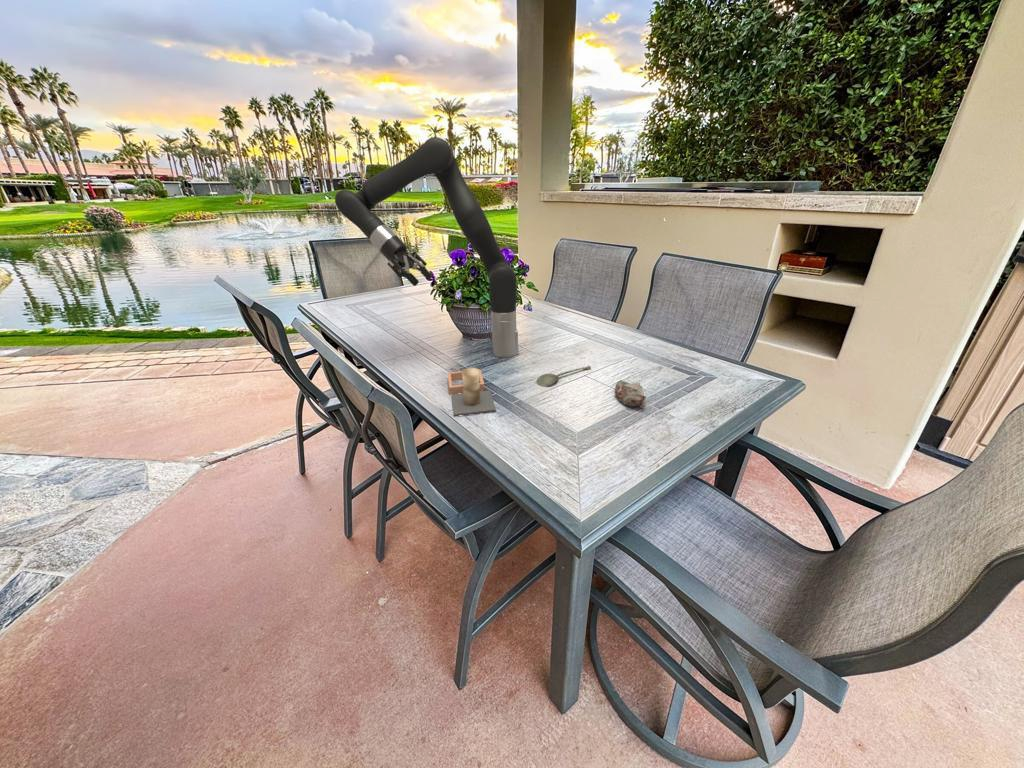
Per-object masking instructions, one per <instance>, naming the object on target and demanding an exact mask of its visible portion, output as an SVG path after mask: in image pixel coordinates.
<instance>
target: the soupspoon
mask: <svg viewBox="0 0 1024 768" xmlns="http://www.w3.org/2000/svg"><path fill="white" fill-rule="evenodd" d="M581 370H582V371H583V370H589V371H590V370H592V367H591V365H587V366H584V367H579V368H576V369H571V370H567V371H564V372H561V373H558V374H554V373H545V374H541V375H540V376H539V377H538V378H537V379H536V380H535V383H536V384H537V385H538V386H540V387H543V388H548V387H550V386H551V385H553V384H554V383H556V382H557V381H558V379H559V378H560V377H561V376H563V375H566V374H569V373H572V372H576V371H581Z"/></svg>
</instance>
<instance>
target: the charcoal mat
mask: <svg viewBox="0 0 1024 768" xmlns="http://www.w3.org/2000/svg"><path fill="white" fill-rule="evenodd" d="M451 400H452V401H451V402H452V411H453V417H454V416H458V417H460V416H459V415H466V416H470V415H469V414H474V415H481V414H480V413H483V414H488V413H489V414H490V412H491V413H497V412H496V411H497V409H496V405H495V403H494V398H493V396H492V393H491V390H485V391H480V403H479V404H477V405H473V406H470V405H466V404H465V403H464V393H461V394H452V395H451Z"/></svg>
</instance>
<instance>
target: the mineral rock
mask: <svg viewBox="0 0 1024 768" xmlns="http://www.w3.org/2000/svg"><path fill="white" fill-rule="evenodd" d="M614 387H615V388H614V394H615V397H616V398H617V400H619V402H620V403H621V404H623V405H627V406H629V407H631V408H632V407H637V406H638V407H639V408H640V409H643V408H645V406H644V405H645V399H646V396H645V393H644V390H643V386H642V385H641V382H632V383H630V382H626V381H623V380H621V379H620V380H619V381H617V382H616V384H615V386H614Z"/></svg>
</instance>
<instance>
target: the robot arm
mask: <svg viewBox="0 0 1024 768" xmlns="http://www.w3.org/2000/svg"><path fill="white" fill-rule="evenodd" d="M432 174H434V176H435V177H436V179H437V181H438V182H439V184H440V186H441V187H442V189H443V191H444V193H445V195H446V197H447V200H448V203H449V206H450V209H451V211H452V214H453V216H454V218H455V220H456V223H457V224H458V227H459V228H460V230H461V232H462V234H463V235H464V237H465V238H466V240H467V241H468V243H469V245H470V246H472V248H473V249H474V250H475V252H476V253H477V255H478V256H479V257H480V259H481V261H482V263H483V265H484V268H485V270H486V273H487V275H488V279H489V295H490V299H489V301H490V315H491V319H490V320H491V337H492V339H491V341H492V352H493V353H492V354H493V355H494V356H495V357H497V358H501V359H503V358H512V357H515V356H519V331H518V329H517V276H516V273H515V271H514V269H513V267H512V266H511V265H510V263H509V262H508V260H507V259H506V257H505V256H504V254H503V253H502V251H501V249H500V247H499V245H498V243H497V240H496V237H495V234H494V232H493V229H492V226H491V224H490V223H489V220H488V218H487V217H486V214H485V212H484V210H483V208H482V207H481V205H480V202H479V201H478V200H477V198H476V195H474V193H473V192H472V190H471V188H470V187H469V185H468V184H467V182H466V181H465V178H464V177H463V174H462V172H461V170H460V168H459V165H458V162H457V160H456V157H455V155H454V151H453V149H452V147H451V146H450V144H449V143H448V142H447V140H445V139H443V138H441V137H437V136H433V137H429V138H428V139H426V140H425V141H424V143H422V144H421V145H420V146H419V147H418V148H417V149H416V150H415V151H413V152H412V153H411V154H409V155H408V156H407V157H405V158H404V159H402V160H401V161H399V162H397V163H395V164H393V165H391V166H390V167H388V168H386V169H384V170H382V171H380V172H379V173H376V174H375V175H373V176H371V177H369V178H368V179H366V180H365V181H363V183H362V185H361V189H360V190H359V191H357V192H353V191H351V190H349V189H342V190H339V191H337V193H336V194H335V196H334V202H335V206H336V208H337V209H338V210H339V212H340V213H341V214H342V215H343V216H344V217H345V218H346V219H347V220H349V221H350V222H351V223H352V224H354V225H355V226H356V227H357V228H358V229H359V230H360V231H361V232H362V233H363V235H365V237H367V239H368V240H369V241H370V242H371V243H372V245H373V246H374V247H375V248H376V249H377V250H378V251H379V252H380V253H381V254H382V256H384V257H385V259H387V261H388V263H387V266H388V267H389V268H390V269H391V270H392V271H393V272H394V273H395V274H396V276H397V277H398V278H402V277H403V278H404V279H407V281H409V283H410V284H411V285H412V286H414V287H415V286H417V285H418V284H419V279H418V278H417V277H416V276H415V275H414V274H413V273H412V272H411V271H410V269H411V270H414V271H417V272H418V271H419V273H420V274H421V275H422V276H423V277H424V278H425V279H426V280H427V281H430V280H431V279H432V278H433V275H432V273H431V272H430V271H429V270H428V269H427V268H426V266H427V265H428V264H427V262H426V261H425V260H424V259H423V258H422V257H421V256H420V255H419V254H418V253H417V252H416V251H412V252H411V253H410V252H408V250H407V245H406V244H405V243H404V242H403V240H401V238H400V237H399V236H398V235H397V234H396V232H394V231H393V230H392V229H391V228H390V227H388V226H387V224H385V222H383V220H382V219H381V218H380V217H379V216H378V215H376V214H375V213H374V212H373V211H371V210H373V209H374V208H375V207H376V206H377V205H378V204H380V203H382V202H383V201H386V200H387V199H389V198H391V197H392V196H394V195H395V194H398V192H401V190H403V189H404V188H406V187H408V186H409V185H410V184H412V183H414V182H415V181H416V180H419V179H420V178H424V177H425V176H428V175H432Z"/></svg>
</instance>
